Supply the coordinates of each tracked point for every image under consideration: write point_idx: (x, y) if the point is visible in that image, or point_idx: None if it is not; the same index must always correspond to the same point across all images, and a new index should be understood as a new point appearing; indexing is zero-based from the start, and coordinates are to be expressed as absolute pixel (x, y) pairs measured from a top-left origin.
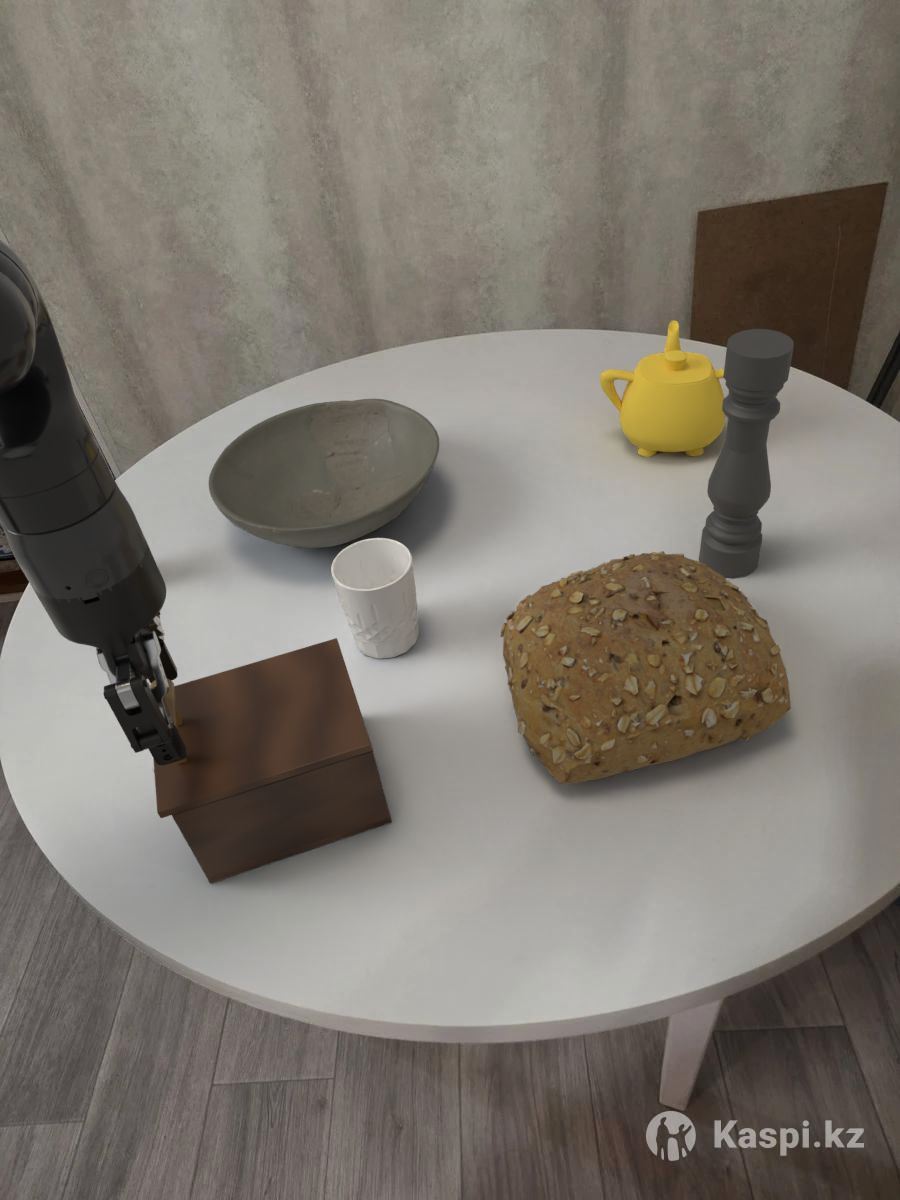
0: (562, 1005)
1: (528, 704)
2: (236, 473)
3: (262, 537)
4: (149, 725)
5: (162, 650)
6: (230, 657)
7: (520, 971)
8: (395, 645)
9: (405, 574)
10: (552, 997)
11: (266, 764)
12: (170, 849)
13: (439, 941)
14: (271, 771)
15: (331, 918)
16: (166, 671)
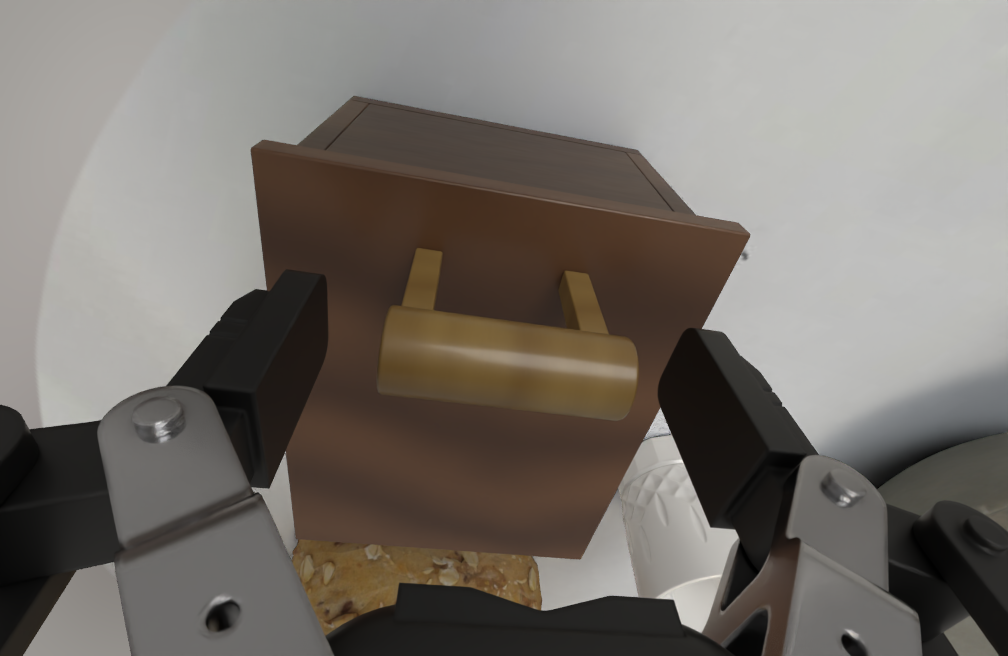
0: (49, 424)
1: (375, 588)
2: None
3: (1004, 466)
4: (65, 539)
5: (709, 499)
6: (835, 282)
7: (96, 409)
8: (621, 482)
9: None
10: (60, 420)
11: (319, 410)
12: (472, 38)
13: (151, 358)
14: None
15: (219, 258)
16: (678, 401)
